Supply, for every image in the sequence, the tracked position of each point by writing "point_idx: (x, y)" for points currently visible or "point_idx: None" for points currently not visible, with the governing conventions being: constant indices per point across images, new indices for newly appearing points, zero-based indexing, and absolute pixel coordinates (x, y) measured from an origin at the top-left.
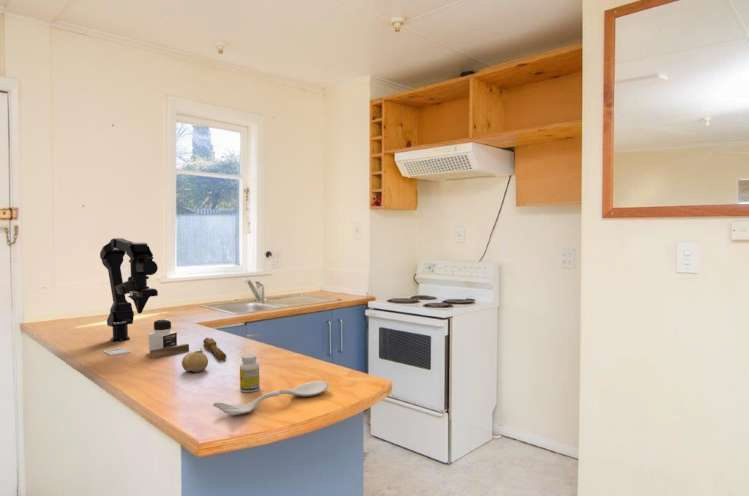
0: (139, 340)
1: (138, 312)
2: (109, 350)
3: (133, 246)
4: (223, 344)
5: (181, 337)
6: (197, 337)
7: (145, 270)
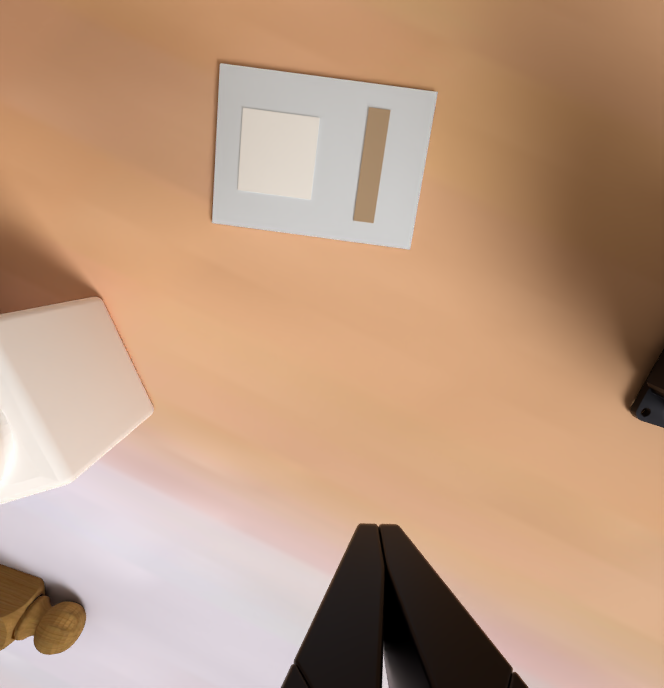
0: (538, 441)
1: (363, 531)
2: (379, 126)
3: None
4: (11, 651)
5: None
6: None
7: None
